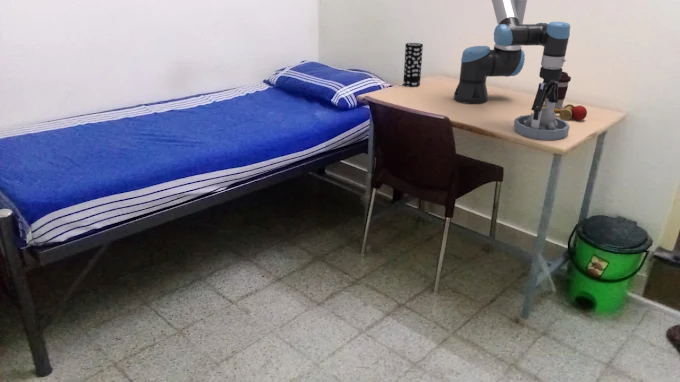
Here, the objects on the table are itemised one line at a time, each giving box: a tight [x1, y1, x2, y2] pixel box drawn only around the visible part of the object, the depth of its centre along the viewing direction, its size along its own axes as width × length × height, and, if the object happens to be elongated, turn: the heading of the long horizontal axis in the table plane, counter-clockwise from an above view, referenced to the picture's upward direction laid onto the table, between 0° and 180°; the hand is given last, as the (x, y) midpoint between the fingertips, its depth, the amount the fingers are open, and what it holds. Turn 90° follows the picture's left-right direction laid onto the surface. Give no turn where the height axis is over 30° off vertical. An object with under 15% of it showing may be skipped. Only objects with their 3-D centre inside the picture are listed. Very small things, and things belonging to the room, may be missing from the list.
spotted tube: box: [402, 42, 424, 88], centre depth 258 cm, size 8×8×20 cm
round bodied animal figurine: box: [524, 108, 558, 130], centre depth 198 cm, size 7×12×8 cm, turn 50°
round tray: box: [513, 114, 571, 141], centre depth 198 cm, size 19×19×4 cm
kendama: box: [542, 103, 588, 121], centre depth 215 cm, size 8×6×18 cm
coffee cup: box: [543, 71, 572, 109], centre depth 225 cm, size 10×10×15 cm
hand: (541, 123), depth 198 cm, fingers open, 13 cm apart
